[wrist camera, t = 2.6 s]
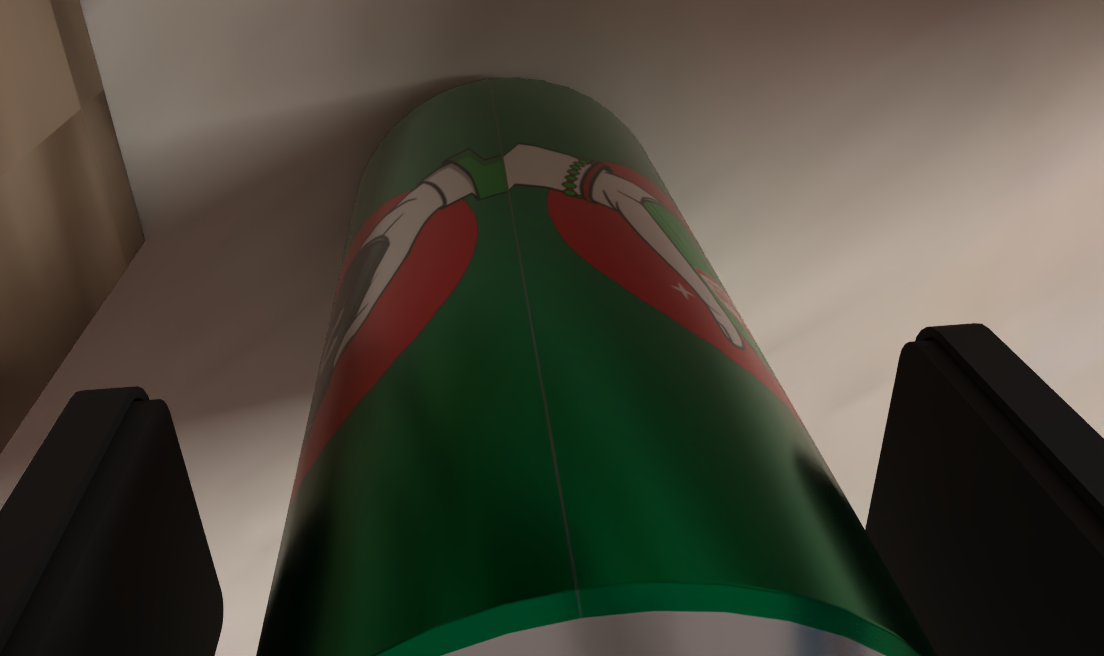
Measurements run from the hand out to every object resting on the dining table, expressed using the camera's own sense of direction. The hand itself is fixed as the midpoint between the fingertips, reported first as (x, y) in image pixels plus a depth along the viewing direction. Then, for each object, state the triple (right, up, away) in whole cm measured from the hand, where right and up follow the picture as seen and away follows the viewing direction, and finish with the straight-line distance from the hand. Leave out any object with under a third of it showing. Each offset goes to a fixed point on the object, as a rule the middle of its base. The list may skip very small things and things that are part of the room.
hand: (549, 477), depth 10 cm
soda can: (-1, +4, +6) cm, 7 cm away
